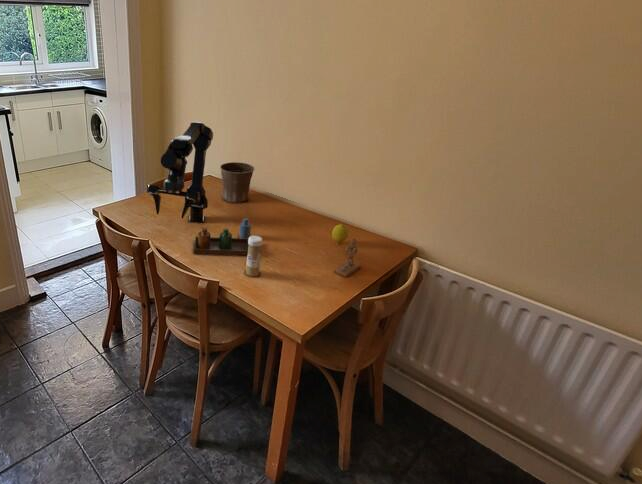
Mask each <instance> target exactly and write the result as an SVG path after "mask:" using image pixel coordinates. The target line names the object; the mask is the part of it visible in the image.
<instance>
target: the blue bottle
mask: <svg viewBox="0 0 642 484" xmlns="http://www.w3.org/2000/svg"><path fill="white" fill-rule="evenodd" d="M249 220H250V219H249V218H247V217H243V220H242V222H240V223H239V232H238V233H239V234H238V235H239V236H238V238H245V239H249V237H250V236H251V234H252V233H251V232H252V223H251V222H249Z"/></svg>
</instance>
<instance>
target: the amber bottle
mask: <svg viewBox="0 0 642 484" xmlns="http://www.w3.org/2000/svg"><path fill="white" fill-rule="evenodd" d="M197 237H198V247H199V248H200V249H209V248H210V237H211V232H210V231H208V228H207V227H202V228H201V231H199V232H198V233H197Z"/></svg>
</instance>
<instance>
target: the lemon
mask: <svg viewBox="0 0 642 484" xmlns="http://www.w3.org/2000/svg"><path fill="white" fill-rule="evenodd" d="M331 234H332V239H333V240H334V242H336V243H338V244H340V243H343V242H345V241H346V240H347V238H348V236H349V229H348V227H347V226H346V225H344V224H343V223H340V224H337V225H335V226H334V228H333V230H332V233H331Z"/></svg>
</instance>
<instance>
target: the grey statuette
mask: <svg viewBox="0 0 642 484" xmlns="http://www.w3.org/2000/svg"><path fill="white" fill-rule="evenodd" d="M356 245H357V239H356V238H352V239H351V240H350V241H349V244H348V245H347V246H346V247H345V249H344V254H345V255H346V259H345V262H344V264H343V265H342V266H340V267H339V268H337V269H336V270H335V273H336V274H338V275H341V276H343V277H345V278H347V277H348V276H350V275H351V274H353V273H354V272H356V271H357V270H358V269H360V265H359V264H357V263H355V262H354V256H355V255H356V254H357V253H358V247H357V246H356ZM348 252H349V253H348Z"/></svg>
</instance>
